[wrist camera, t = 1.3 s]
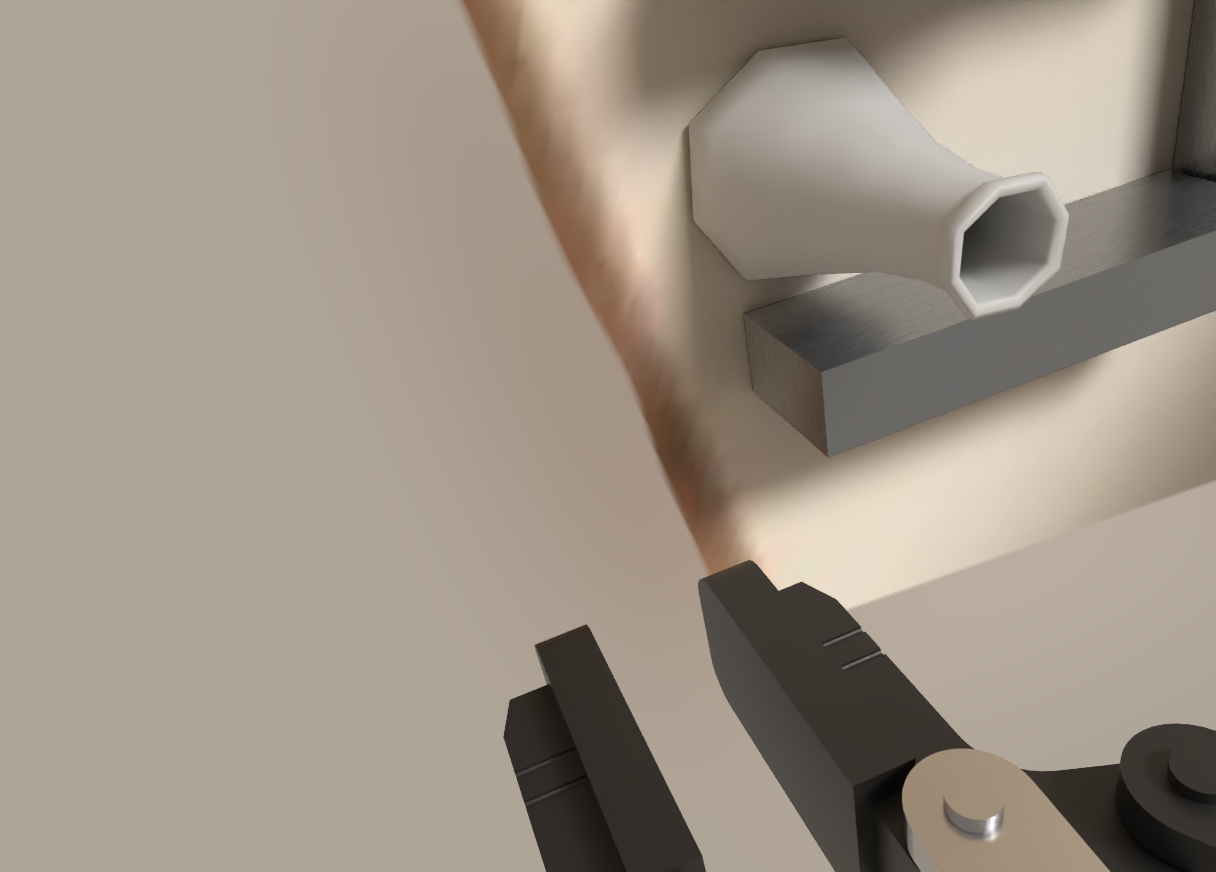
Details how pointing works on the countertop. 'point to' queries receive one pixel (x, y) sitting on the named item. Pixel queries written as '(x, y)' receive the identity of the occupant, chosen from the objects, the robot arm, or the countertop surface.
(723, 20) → the countertop surface
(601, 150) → the countertop surface
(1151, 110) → the countertop surface
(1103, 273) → the vise fixed
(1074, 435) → the countertop surface
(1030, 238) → the flask
